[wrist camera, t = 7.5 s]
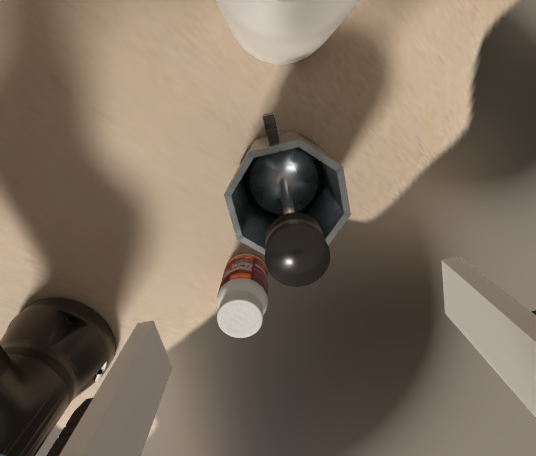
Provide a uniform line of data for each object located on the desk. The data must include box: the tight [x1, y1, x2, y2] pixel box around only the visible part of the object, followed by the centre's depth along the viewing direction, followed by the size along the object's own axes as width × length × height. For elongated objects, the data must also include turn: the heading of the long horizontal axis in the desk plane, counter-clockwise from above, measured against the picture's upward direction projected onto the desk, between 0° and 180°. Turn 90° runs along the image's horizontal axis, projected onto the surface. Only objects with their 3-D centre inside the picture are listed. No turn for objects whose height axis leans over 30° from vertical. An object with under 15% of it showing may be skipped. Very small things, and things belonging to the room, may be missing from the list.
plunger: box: [250, 148, 330, 287], centre depth 32 cm, size 8×8×23 cm
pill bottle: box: [217, 254, 268, 338], centre depth 43 cm, size 6×6×11 cm
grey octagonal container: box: [224, 112, 351, 255], centre depth 38 cm, size 12×14×12 cm
